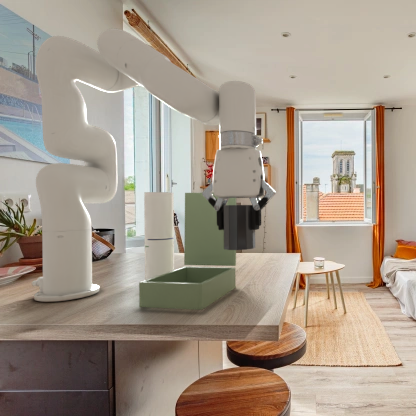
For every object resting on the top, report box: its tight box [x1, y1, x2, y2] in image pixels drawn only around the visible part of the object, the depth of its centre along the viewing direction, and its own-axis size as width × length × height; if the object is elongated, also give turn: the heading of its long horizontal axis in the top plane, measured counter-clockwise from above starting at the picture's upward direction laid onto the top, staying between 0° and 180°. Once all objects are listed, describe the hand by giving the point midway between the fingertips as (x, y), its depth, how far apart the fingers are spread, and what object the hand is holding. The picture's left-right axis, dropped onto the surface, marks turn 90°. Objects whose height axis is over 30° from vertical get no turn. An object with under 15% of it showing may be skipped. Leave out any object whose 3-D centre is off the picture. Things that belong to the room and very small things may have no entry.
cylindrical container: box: [143, 191, 175, 281], centre depth 88 cm, size 7×7×25 cm
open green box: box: [138, 266, 237, 311], centre depth 74 cm, size 18×14×6 cm
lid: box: [183, 192, 237, 267], centre depth 83 cm, size 18×14×1 cm
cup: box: [223, 204, 256, 251], centre depth 68 cm, size 6×6×9 cm
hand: (239, 228), depth 68 cm, fingers closed on cup, 6 cm apart
